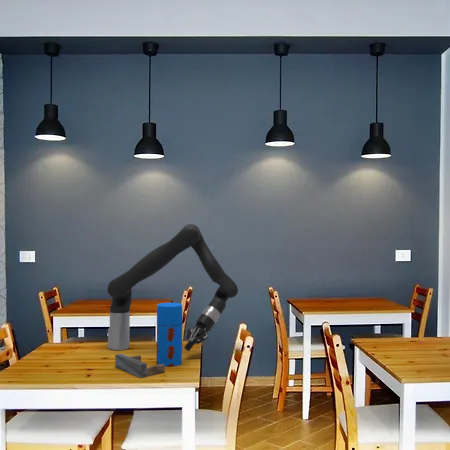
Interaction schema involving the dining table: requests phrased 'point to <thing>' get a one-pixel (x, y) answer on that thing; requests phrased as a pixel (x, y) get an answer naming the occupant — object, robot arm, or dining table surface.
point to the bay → (137, 366)
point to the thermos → (169, 334)
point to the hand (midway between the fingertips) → (186, 349)
